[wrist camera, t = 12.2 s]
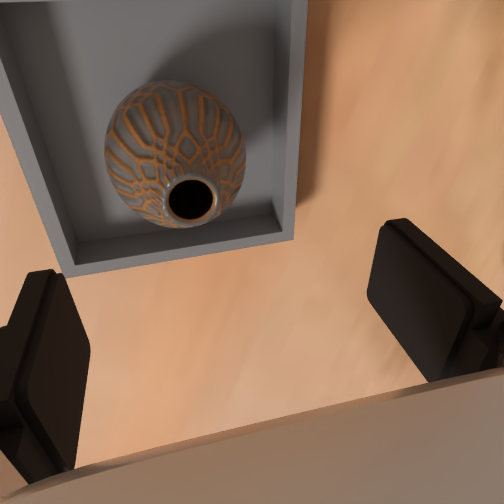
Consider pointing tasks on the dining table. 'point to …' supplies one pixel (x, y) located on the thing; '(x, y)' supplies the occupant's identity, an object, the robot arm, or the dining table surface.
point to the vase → (175, 154)
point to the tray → (127, 80)
